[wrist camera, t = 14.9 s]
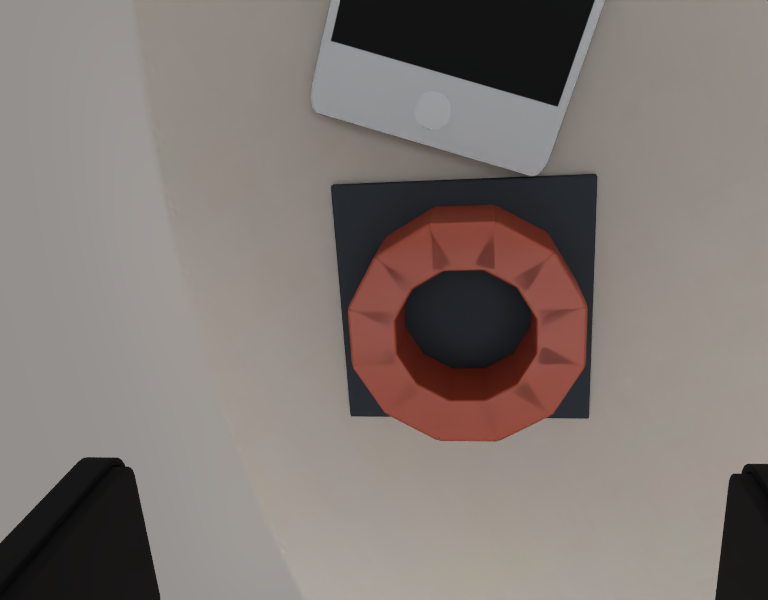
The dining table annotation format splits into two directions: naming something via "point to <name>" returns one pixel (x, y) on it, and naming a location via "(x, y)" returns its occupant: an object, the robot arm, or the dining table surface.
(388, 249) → the ring
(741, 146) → the dining table surface
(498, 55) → the smartphone
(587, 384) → the coaster
